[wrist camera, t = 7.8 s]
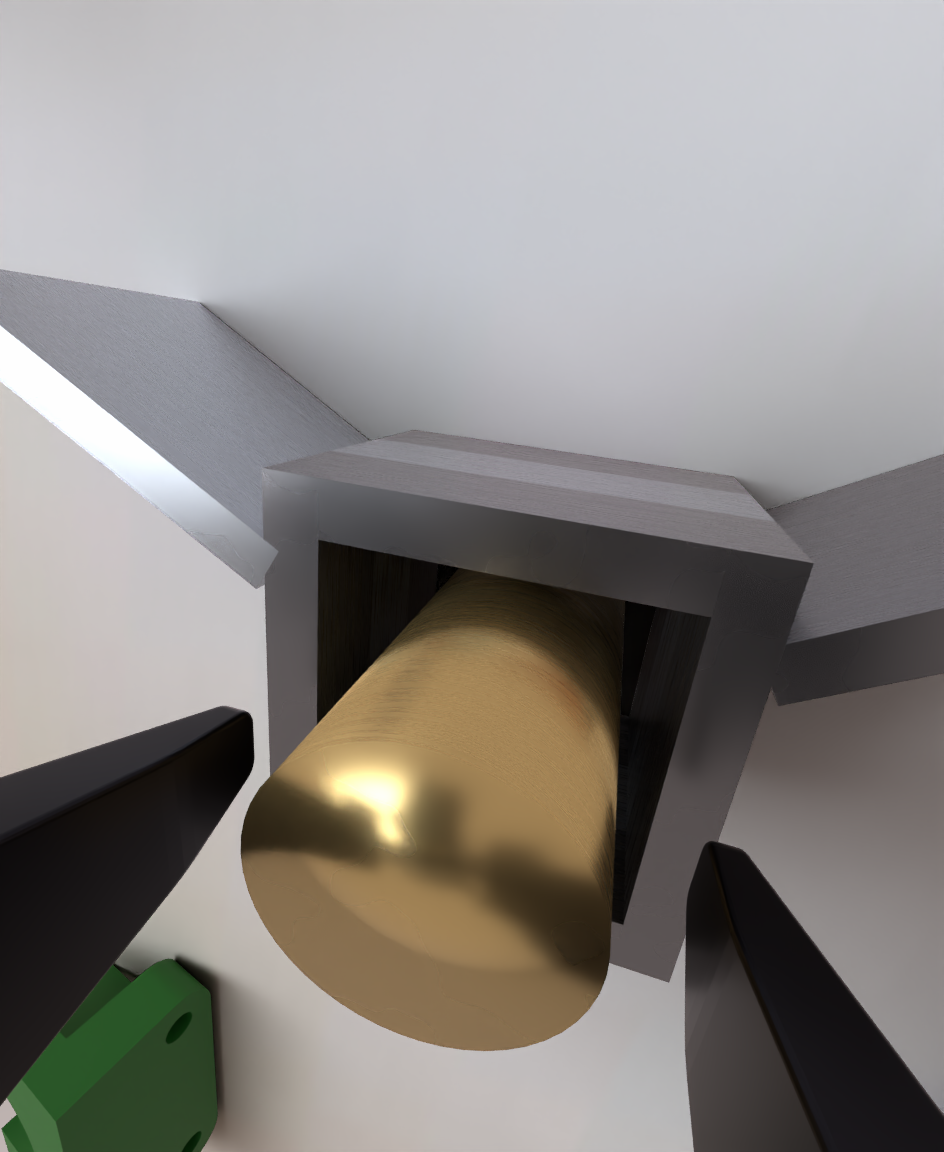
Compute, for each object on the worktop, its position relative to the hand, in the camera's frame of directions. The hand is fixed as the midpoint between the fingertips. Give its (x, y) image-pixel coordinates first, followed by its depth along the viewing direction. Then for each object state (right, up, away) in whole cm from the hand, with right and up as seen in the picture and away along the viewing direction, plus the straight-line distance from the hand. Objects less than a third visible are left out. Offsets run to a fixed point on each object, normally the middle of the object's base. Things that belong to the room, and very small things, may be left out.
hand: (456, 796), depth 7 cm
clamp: (-14, -17, +19) cm, 29 cm away
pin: (+2, +2, +7) cm, 7 cm away
